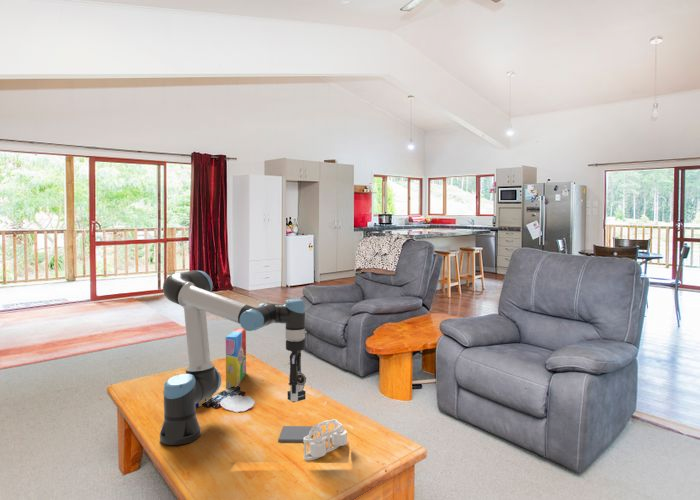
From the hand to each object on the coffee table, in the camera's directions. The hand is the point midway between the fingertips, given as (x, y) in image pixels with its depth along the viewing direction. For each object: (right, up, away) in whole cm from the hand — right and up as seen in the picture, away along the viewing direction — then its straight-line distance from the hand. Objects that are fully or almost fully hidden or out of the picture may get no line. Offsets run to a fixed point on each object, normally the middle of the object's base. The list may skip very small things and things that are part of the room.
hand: (295, 397), depth 180 cm
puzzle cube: (-50, -14, +35) cm, 63 cm away
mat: (0, -15, +1) cm, 15 cm away
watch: (0, -1, 0) cm, 1 cm away
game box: (-38, -13, +62) cm, 74 cm away
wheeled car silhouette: (+12, -16, -11) cm, 23 cm away
